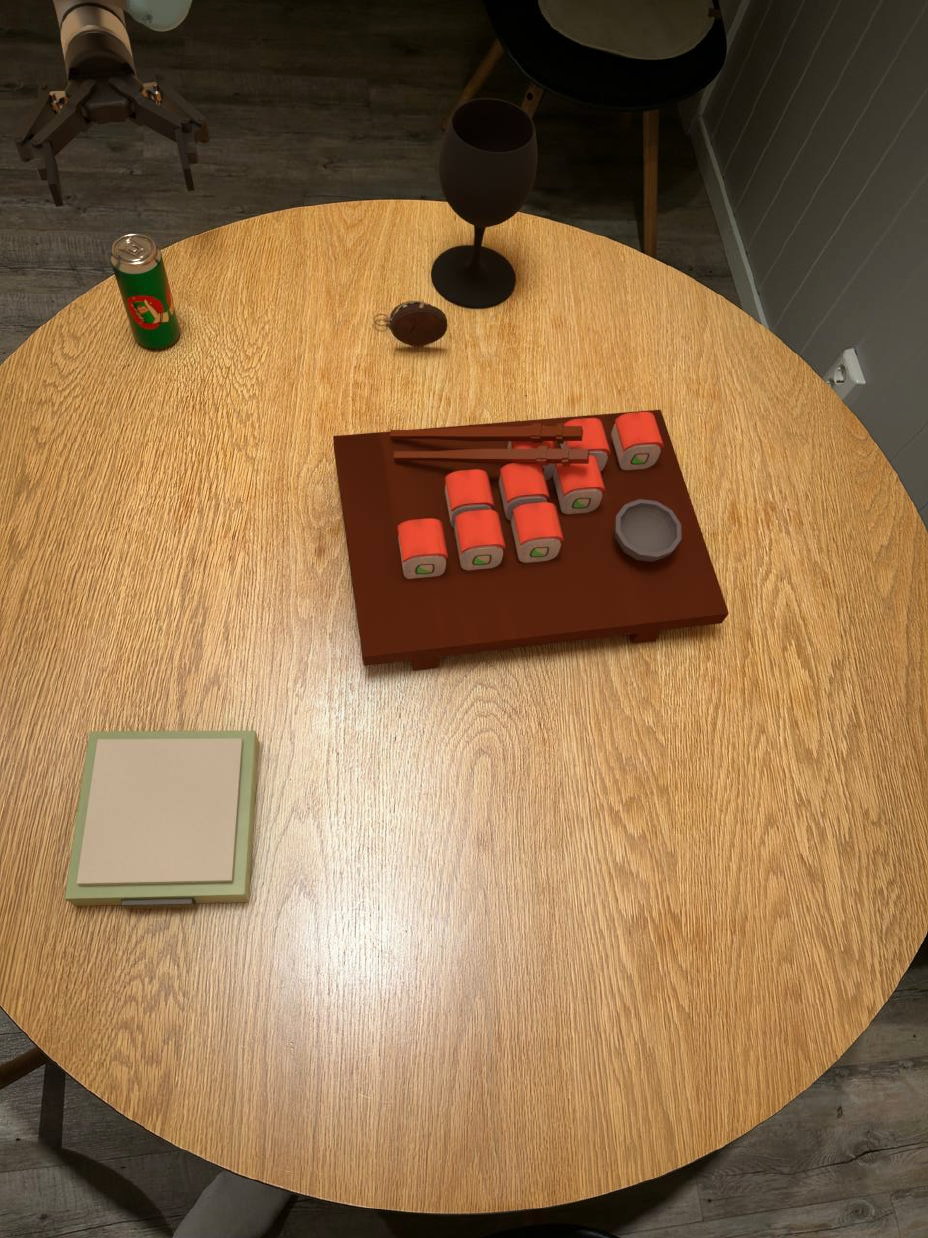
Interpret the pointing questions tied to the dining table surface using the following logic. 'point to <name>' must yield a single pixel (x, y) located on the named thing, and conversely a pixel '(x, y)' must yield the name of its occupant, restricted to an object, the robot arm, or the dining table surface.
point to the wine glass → (483, 195)
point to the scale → (164, 819)
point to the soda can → (145, 290)
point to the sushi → (520, 536)
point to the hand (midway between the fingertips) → (123, 187)
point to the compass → (417, 322)
